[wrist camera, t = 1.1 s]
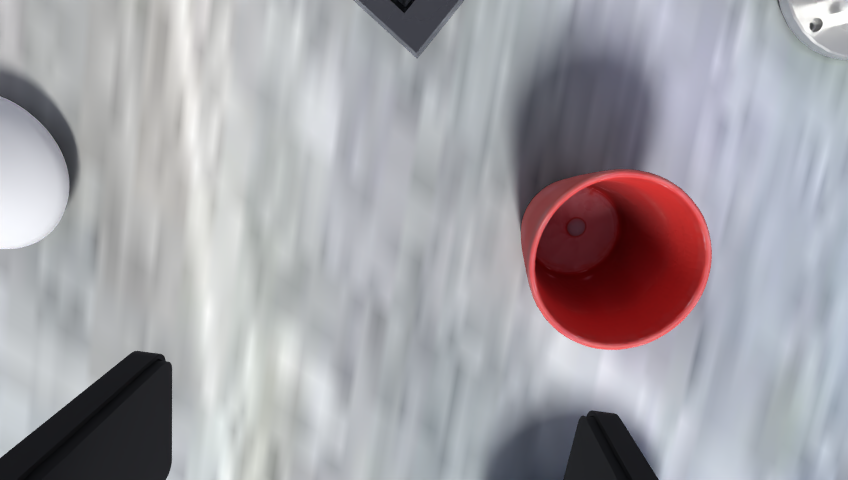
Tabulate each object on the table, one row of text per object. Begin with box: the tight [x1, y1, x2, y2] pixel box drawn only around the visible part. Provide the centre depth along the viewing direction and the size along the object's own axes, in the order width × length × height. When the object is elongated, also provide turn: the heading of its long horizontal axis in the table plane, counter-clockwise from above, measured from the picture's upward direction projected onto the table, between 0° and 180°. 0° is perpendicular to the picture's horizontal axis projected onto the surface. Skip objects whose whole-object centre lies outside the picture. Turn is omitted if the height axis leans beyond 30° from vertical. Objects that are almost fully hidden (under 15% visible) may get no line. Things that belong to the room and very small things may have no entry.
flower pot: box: [521, 169, 712, 350], centre depth 32 cm, size 11×11×10 cm
